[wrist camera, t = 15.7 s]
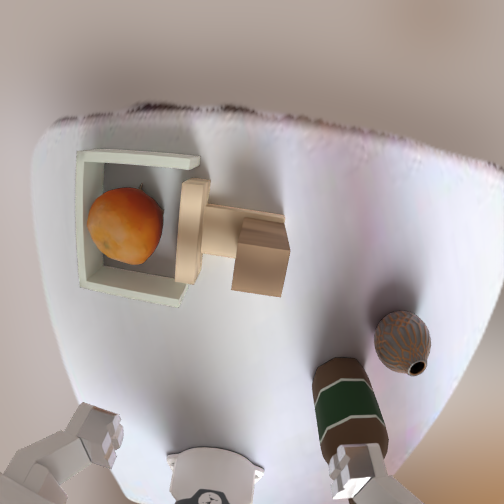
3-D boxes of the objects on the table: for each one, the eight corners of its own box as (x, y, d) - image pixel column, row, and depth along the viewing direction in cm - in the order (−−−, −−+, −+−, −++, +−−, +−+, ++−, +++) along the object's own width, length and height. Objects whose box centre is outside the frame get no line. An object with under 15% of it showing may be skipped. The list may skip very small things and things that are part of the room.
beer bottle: (315, 399, 41) (334, 549, 19) (306, 362, 39) (328, 534, 16) (366, 386, 40) (408, 530, 18) (363, 348, 38) (420, 509, 15)
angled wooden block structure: (272, 280, 35) (274, 327, 26) (183, 266, 35) (158, 308, 26) (288, 191, 31) (297, 212, 23) (192, 177, 31) (163, 192, 22)
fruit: (193, 203, 31) (147, 256, 25) (166, 238, 36) (127, 286, 31) (135, 153, 29) (80, 197, 24) (117, 196, 35) (73, 238, 30)
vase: (363, 315, 36) (384, 359, 28) (412, 294, 35) (443, 332, 27) (373, 354, 38) (392, 399, 30) (418, 334, 37) (445, 375, 29)
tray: (188, 288, 36) (178, 308, 31) (97, 271, 35) (79, 287, 31) (200, 156, 30) (190, 158, 26) (98, 148, 30) (76, 151, 26)
